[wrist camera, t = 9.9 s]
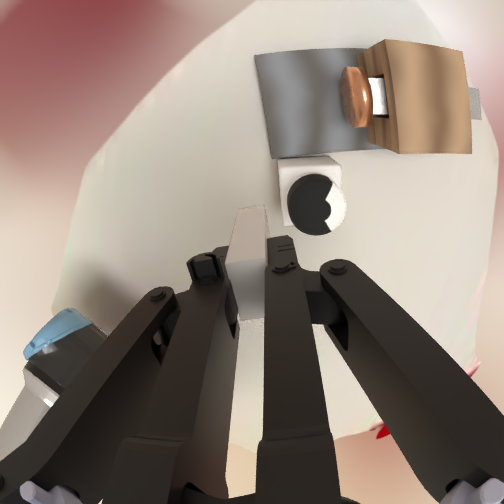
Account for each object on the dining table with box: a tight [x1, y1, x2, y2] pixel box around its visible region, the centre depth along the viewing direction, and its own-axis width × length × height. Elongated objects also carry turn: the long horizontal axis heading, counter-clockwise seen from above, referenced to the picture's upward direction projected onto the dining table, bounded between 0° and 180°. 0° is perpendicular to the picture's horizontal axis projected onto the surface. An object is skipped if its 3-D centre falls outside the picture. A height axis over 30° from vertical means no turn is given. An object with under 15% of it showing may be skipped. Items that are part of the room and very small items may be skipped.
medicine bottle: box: [278, 156, 347, 235], centre depth 33 cm, size 7×7×12 cm
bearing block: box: [254, 39, 472, 159], centre depth 27 cm, size 25×14×12 cm, turn 99°
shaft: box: [341, 67, 482, 127], centre depth 25 cm, size 18×7×7 cm, turn 99°
